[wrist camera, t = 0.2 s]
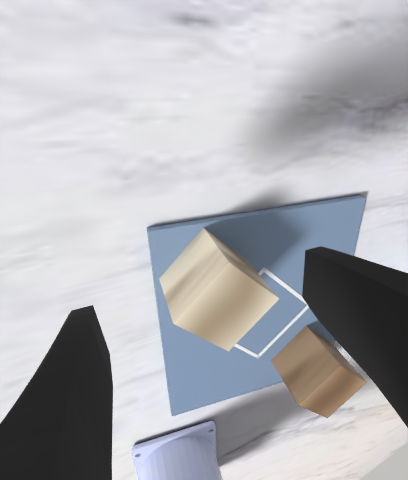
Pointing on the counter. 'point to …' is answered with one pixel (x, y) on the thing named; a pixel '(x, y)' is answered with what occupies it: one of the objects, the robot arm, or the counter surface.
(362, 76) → the counter surface
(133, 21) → the counter surface
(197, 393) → the blueprint board
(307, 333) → the walnut block
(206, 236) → the ash block
